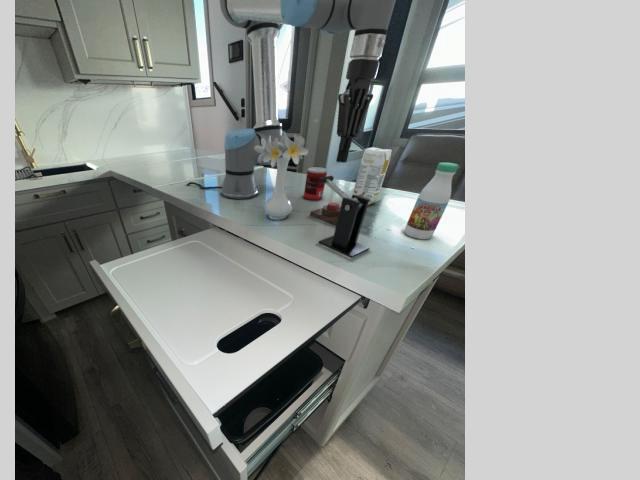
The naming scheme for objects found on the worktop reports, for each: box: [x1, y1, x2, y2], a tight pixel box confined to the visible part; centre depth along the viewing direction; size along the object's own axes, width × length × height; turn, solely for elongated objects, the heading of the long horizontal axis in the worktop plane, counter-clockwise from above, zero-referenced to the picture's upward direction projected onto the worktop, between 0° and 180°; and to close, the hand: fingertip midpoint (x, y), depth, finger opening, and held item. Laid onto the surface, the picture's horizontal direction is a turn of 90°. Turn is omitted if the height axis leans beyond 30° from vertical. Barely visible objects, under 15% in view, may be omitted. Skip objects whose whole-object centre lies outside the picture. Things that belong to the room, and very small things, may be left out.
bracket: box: [318, 194, 370, 259], centre depth 71 cm, size 11×8×14 cm
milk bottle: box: [403, 162, 459, 240], centre depth 77 cm, size 8×8×20 cm
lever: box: [317, 175, 363, 211], centre depth 69 cm, size 13×5×2 cm, turn 36°
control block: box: [309, 204, 341, 227], centre depth 91 cm, size 11×9×4 cm
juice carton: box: [352, 146, 393, 206], centre depth 101 cm, size 8×9×19 cm
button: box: [327, 201, 340, 210], centre depth 89 cm, size 4×4×2 cm
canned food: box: [303, 166, 328, 201], centre depth 108 cm, size 8×8×11 cm
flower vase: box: [254, 133, 309, 221], centre depth 86 cm, size 13×18×25 cm
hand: (341, 161), depth 83 cm, fingers closed
